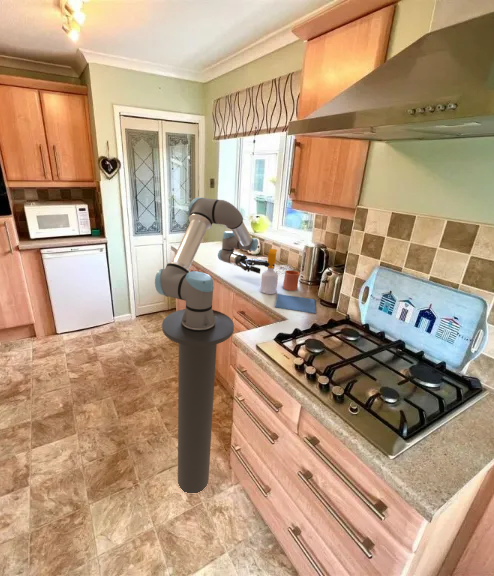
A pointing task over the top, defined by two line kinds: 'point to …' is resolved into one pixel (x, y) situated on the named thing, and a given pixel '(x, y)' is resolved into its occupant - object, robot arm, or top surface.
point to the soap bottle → (269, 275)
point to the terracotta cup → (291, 280)
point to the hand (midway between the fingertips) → (267, 268)
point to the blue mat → (295, 303)
